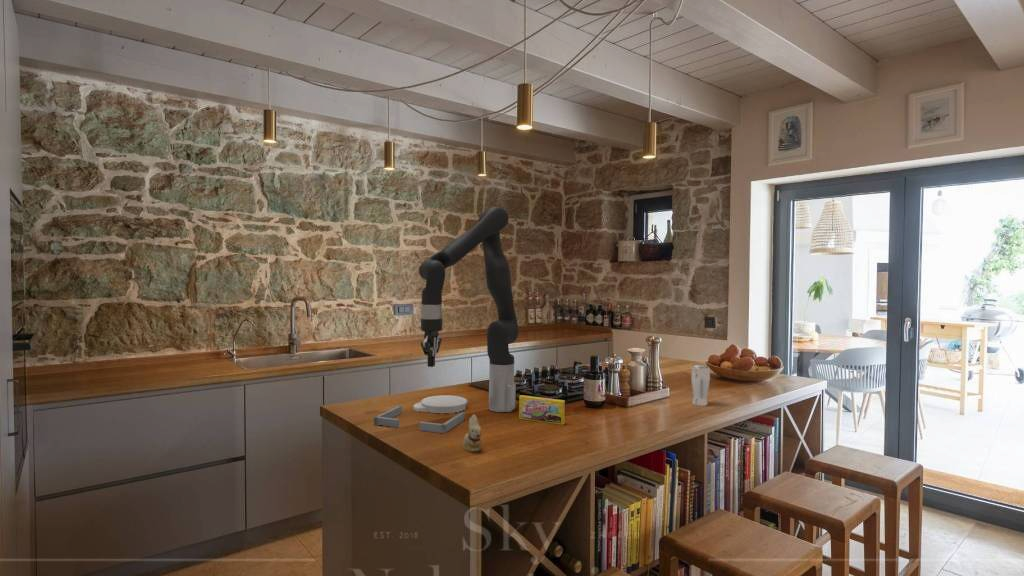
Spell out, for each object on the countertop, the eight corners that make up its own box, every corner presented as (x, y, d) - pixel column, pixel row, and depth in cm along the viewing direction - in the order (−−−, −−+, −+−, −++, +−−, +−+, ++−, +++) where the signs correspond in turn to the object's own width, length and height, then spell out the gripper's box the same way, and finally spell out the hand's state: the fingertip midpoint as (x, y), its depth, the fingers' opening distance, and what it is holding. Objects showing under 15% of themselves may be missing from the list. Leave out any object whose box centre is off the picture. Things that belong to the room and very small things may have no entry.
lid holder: (464, 419, 184) (464, 412, 184) (444, 433, 168) (444, 425, 168) (398, 412, 192) (398, 405, 191) (374, 424, 176) (374, 417, 176)
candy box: (518, 419, 186) (518, 396, 186) (520, 418, 188) (520, 394, 188) (562, 425, 180) (563, 401, 180) (564, 423, 182) (565, 399, 182)
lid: (412, 403, 206) (412, 396, 206) (464, 402, 210) (464, 394, 210) (413, 416, 189) (413, 407, 189) (469, 414, 193) (470, 405, 193)
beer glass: (710, 403, 213) (711, 366, 212) (706, 407, 207) (707, 369, 206) (692, 401, 217) (693, 364, 216) (688, 404, 211) (689, 367, 210)
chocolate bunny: (461, 452, 151) (461, 417, 151) (463, 443, 159) (464, 410, 159) (480, 452, 151) (481, 418, 151) (482, 443, 159) (482, 410, 159)
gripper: (433, 319, 180) (433, 370, 180) (449, 316, 193) (448, 364, 193) (413, 318, 182) (413, 369, 182) (429, 315, 195) (429, 362, 195)
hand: (431, 366), depth 188 cm, fingers closed
